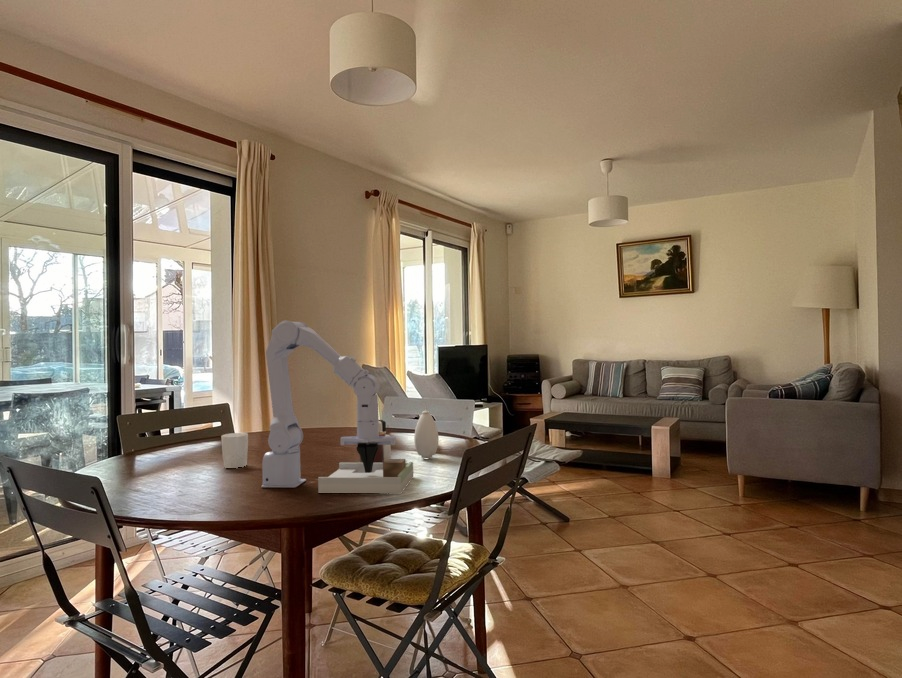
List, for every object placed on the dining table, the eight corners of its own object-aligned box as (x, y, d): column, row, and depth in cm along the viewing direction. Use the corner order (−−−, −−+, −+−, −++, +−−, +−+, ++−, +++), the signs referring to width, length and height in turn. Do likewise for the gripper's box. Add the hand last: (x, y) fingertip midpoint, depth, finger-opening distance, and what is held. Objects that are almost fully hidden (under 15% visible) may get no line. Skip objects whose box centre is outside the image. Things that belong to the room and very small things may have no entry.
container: (368, 458, 185) (367, 418, 185) (391, 458, 184) (390, 418, 184) (360, 463, 178) (360, 422, 178) (384, 463, 176) (383, 422, 176)
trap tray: (318, 493, 142) (318, 476, 142) (340, 476, 159) (339, 461, 160) (400, 494, 139) (400, 476, 139) (413, 476, 157) (412, 461, 157)
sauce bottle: (437, 461, 178) (436, 404, 178) (412, 461, 179) (411, 404, 179) (440, 456, 185) (439, 401, 186) (416, 456, 186) (415, 402, 186)
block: (383, 478, 146) (382, 462, 146) (387, 473, 151) (387, 458, 151) (402, 478, 146) (401, 462, 146) (405, 473, 151) (405, 458, 151)
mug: (362, 464, 176) (361, 431, 176) (389, 464, 175) (388, 431, 175) (350, 472, 164) (349, 437, 164) (379, 473, 163) (378, 437, 163)
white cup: (242, 469, 172) (241, 436, 173) (217, 469, 173) (216, 437, 173) (252, 463, 180) (252, 432, 180) (228, 464, 181) (227, 433, 181)
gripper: (336, 422, 146) (337, 475, 146) (391, 422, 145) (392, 475, 145) (344, 419, 153) (345, 469, 153) (396, 419, 152) (397, 469, 152)
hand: (368, 471), depth 149 cm, fingers closed
